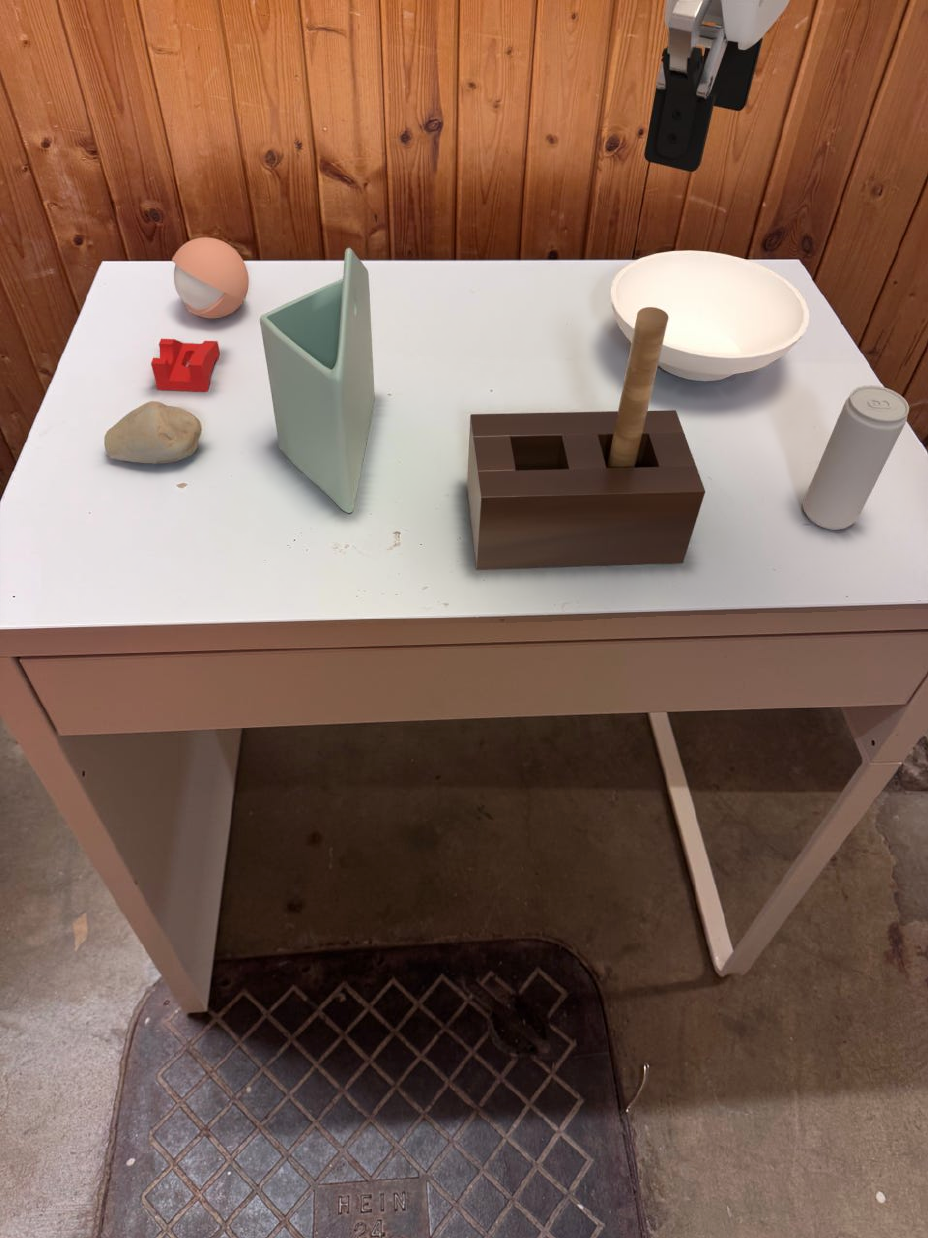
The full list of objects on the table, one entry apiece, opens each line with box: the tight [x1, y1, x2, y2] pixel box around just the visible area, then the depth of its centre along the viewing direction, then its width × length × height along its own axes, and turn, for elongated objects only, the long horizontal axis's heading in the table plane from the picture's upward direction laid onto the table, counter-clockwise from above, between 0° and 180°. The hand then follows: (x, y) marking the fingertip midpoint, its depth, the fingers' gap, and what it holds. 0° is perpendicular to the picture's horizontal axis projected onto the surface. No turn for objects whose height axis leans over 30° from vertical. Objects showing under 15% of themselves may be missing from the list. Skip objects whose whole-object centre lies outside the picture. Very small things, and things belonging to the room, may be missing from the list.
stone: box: [103, 400, 202, 464], centre depth 83 cm, size 7×6×8 cm
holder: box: [466, 409, 706, 571], centre depth 77 cm, size 10×17×8 cm, turn 94°
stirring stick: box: [607, 307, 668, 468], centre depth 73 cm, size 2×2×20 cm
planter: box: [259, 247, 376, 514], centre depth 78 cm, size 16×8×20 cm, turn 177°
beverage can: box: [802, 384, 910, 531], centre depth 77 cm, size 5×5×12 cm
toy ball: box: [171, 236, 250, 319], centre depth 96 cm, size 8×8×8 cm
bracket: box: [150, 338, 221, 393], centre depth 91 cm, size 6×5×3 cm
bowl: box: [609, 250, 810, 382], centre depth 94 cm, size 20×20×7 cm
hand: (696, 133), depth 56 cm, fingers open, 9 cm apart
